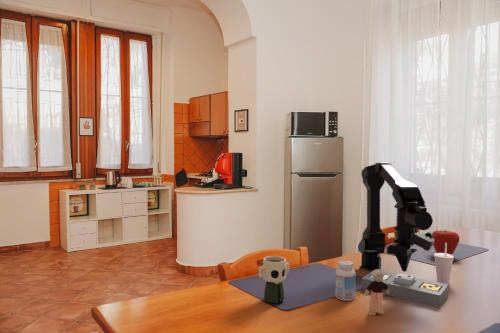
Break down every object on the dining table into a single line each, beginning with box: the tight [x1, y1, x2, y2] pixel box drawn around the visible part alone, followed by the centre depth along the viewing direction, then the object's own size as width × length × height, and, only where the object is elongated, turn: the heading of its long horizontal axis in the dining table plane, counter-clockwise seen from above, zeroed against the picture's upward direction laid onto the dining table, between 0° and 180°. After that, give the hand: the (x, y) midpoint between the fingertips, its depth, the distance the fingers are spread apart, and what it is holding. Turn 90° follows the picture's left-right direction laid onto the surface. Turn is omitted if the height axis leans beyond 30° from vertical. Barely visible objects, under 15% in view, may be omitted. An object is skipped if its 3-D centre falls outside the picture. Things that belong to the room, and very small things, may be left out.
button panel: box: [361, 270, 449, 307], centre depth 129 cm, size 24×12×4 cm, turn 52°
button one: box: [370, 275, 390, 280], centre depth 134 cm, size 5×5×3 cm
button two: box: [394, 273, 416, 286], centre depth 129 cm, size 5×5×3 cm
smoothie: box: [433, 243, 455, 284], centre depth 138 cm, size 6×6×14 cm
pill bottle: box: [335, 260, 356, 302], centre depth 123 cm, size 6×6×11 cm
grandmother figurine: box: [363, 269, 390, 316], centre depth 112 cm, size 8×4×13 cm, turn 114°
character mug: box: [258, 255, 290, 304], centre depth 120 cm, size 11×7×13 cm, turn 118°
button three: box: [420, 283, 441, 292], centre depth 124 cm, size 5×5×3 cm
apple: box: [431, 229, 460, 255], centre depth 172 cm, size 11×11×12 cm
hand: (404, 271), depth 129 cm, fingers closed
